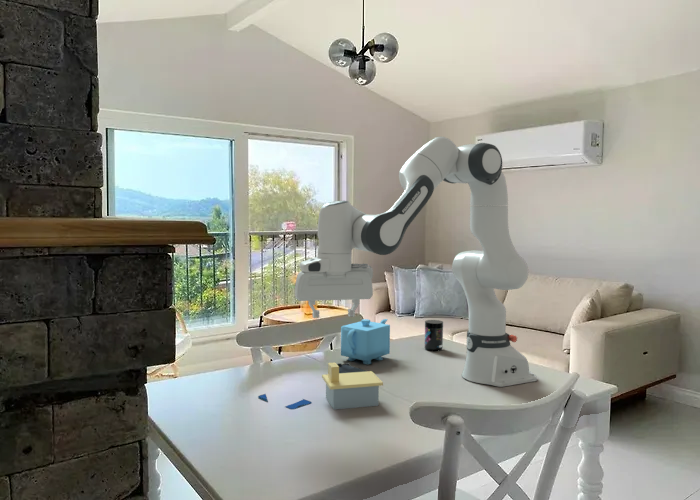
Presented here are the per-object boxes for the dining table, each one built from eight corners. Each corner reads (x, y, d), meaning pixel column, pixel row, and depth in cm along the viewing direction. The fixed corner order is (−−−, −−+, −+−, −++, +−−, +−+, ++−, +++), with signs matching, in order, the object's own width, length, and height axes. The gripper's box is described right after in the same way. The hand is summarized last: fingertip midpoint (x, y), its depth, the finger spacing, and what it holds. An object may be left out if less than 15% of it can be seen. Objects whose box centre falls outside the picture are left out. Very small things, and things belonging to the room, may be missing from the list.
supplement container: (429, 346, 203) (429, 319, 203) (445, 348, 200) (446, 321, 199) (421, 349, 198) (421, 322, 197) (438, 352, 194) (438, 324, 193)
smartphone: (278, 389, 151) (313, 402, 141) (278, 393, 152) (313, 405, 141) (256, 396, 146) (291, 409, 136) (256, 399, 146) (291, 413, 136)
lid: (371, 377, 148) (371, 356, 148) (382, 389, 139) (383, 367, 138) (321, 381, 145) (322, 360, 144) (330, 393, 135) (330, 370, 135)
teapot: (361, 368, 174) (361, 326, 173) (335, 362, 181) (335, 321, 180) (399, 354, 191) (400, 316, 190) (374, 349, 198) (374, 312, 197)
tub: (368, 396, 148) (368, 374, 148) (378, 407, 139) (378, 385, 139) (325, 399, 145) (326, 377, 145) (333, 411, 136) (333, 388, 136)
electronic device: (325, 382, 165) (357, 387, 154) (326, 363, 166) (358, 368, 155) (349, 380, 171) (381, 385, 160) (349, 362, 172) (381, 366, 160)
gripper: (369, 262, 144) (368, 313, 145) (293, 263, 139) (293, 315, 140) (376, 264, 138) (375, 317, 139) (297, 265, 133) (297, 320, 134)
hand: (333, 316), depth 139 cm, fingers open, 8 cm apart
